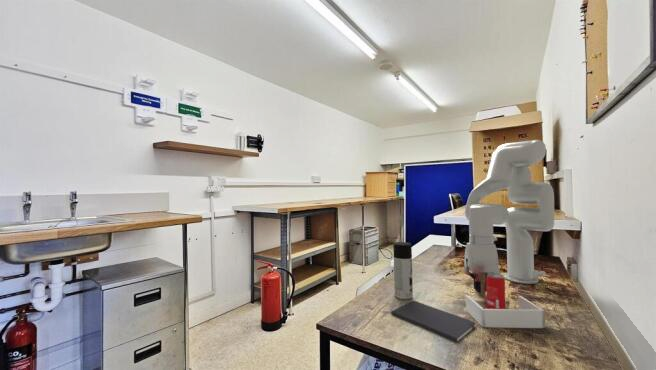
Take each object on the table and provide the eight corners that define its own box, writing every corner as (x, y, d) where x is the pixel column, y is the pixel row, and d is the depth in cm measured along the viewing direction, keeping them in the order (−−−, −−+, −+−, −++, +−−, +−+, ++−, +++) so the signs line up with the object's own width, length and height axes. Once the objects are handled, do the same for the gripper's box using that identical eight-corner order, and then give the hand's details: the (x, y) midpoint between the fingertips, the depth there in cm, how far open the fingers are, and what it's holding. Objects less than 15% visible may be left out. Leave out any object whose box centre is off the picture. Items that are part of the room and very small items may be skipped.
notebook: (391, 315, 88) (457, 344, 72) (391, 311, 88) (457, 338, 72) (413, 304, 96) (476, 327, 80) (413, 300, 96) (476, 322, 80)
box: (521, 311, 89) (520, 295, 89) (545, 328, 78) (545, 310, 78) (466, 310, 90) (465, 295, 90) (482, 327, 79) (482, 310, 79)
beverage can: (483, 309, 91) (482, 273, 91) (498, 308, 91) (497, 272, 91) (493, 316, 85) (492, 278, 86) (509, 315, 86) (508, 277, 86)
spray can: (413, 300, 98) (412, 245, 98) (394, 299, 99) (393, 244, 100) (411, 293, 105) (411, 241, 105) (393, 292, 106) (393, 241, 106)
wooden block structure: (494, 297, 99) (494, 267, 99) (509, 308, 90) (509, 275, 90) (461, 296, 100) (460, 267, 100) (472, 307, 91) (472, 275, 91)
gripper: (498, 238, 100) (499, 287, 100) (453, 238, 101) (454, 287, 101) (510, 242, 92) (512, 296, 92) (462, 242, 94) (463, 295, 93)
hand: (482, 291), depth 97 cm, fingers closed on wooden block structure, 2 cm apart
